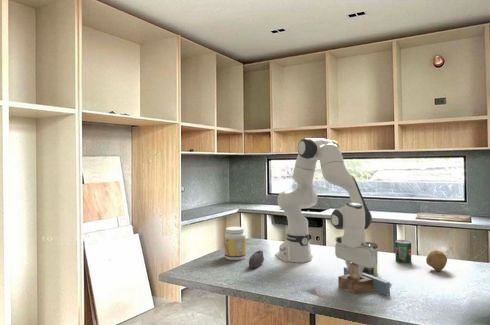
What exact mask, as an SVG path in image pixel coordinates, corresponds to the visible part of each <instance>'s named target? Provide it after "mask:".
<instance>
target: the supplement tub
mask: <svg viewBox="0 0 490 325" xmlns="http://www.w3.org/2000/svg"><path fill="white" fill-rule="evenodd" d="M223 237H224V246H223V247H224V258H225V259H227V260H228V261H241V260H243V259H245V258H246V256H247V255H246V254H247V253H246V251H247V250H246V249H247V248H246V247H247V246H246V245H247V242H246V240H247V239H246V237H247V236H246V233H245V228H244V227H242V226H228V227H226V228H225V233H224V236H223Z"/></svg>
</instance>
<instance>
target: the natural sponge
mask: <svg viewBox="0 0 490 325" xmlns="http://www.w3.org/2000/svg"><path fill="white" fill-rule="evenodd" d="M425 262H426V264H427V265H428V266H429V267H431V268H432V269H433V270H435V271H437V272H441V271H442V270H444V269H445V267H446V265H447V263H448V257H447V255H446V254H445V253H444V252H442V251H440V250H436V249H435V250H432V251H430V252H428V254H427V257H426V259H425Z"/></svg>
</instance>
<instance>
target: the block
mask: <svg viewBox="0 0 490 325" xmlns="http://www.w3.org/2000/svg"><path fill="white" fill-rule="evenodd" d="M337 277H338V279H337V280H338V282H337V283H338V285H337V286H338V288H341V289H343V290H345V291H347V292H350V293H351V294H354V295H359V294H362V293H365V292H368V291H374V290H373V279H371V278H368V277H366V276H363V275H360V280H356V281H355V280H352V279H350V274H347V275H344V274H343V275H339V276H337Z"/></svg>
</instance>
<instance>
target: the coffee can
mask: <svg viewBox="0 0 490 325" xmlns="http://www.w3.org/2000/svg"><path fill="white" fill-rule="evenodd" d="M365 244H367V245H371V246H372V247H373V249H374V253H375V258H376V266H375V267H374V268H367V267H365V268H364V269H363V271H362V272H363V273H366V274H369V275H371V276H374V277H377V275H378V274H379V273H378V247H379V246H378V244H377V243H375V242H370V241H365Z"/></svg>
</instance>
